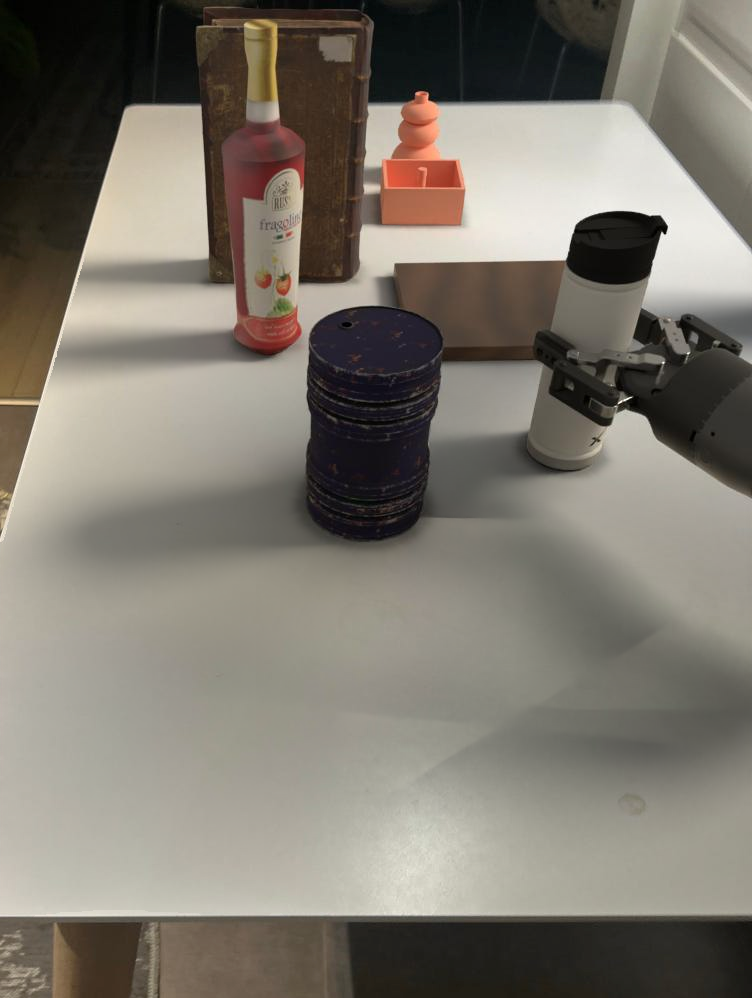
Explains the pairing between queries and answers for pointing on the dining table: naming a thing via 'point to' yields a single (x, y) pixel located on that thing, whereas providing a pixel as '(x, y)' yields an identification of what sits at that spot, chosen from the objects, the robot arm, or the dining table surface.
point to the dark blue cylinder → (370, 420)
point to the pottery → (421, 173)
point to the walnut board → (483, 304)
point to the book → (294, 125)
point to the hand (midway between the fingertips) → (578, 326)
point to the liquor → (264, 205)
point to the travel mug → (594, 323)
